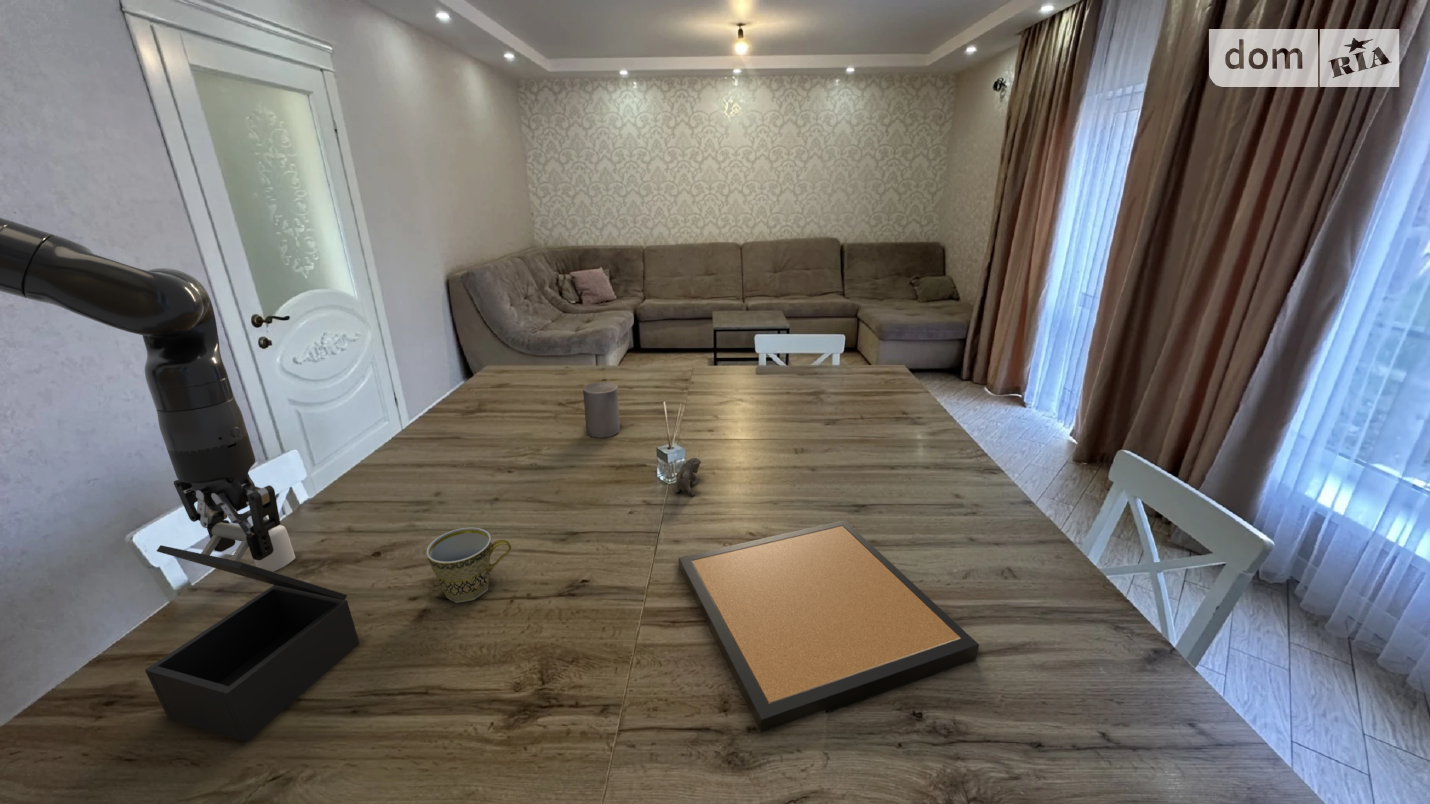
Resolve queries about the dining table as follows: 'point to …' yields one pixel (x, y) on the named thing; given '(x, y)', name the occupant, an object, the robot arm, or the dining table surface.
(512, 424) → the dining table surface
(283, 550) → the eye dropper bottle
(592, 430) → the pillar candle
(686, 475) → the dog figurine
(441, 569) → the ceramic cup
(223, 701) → the black box
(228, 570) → the box lid
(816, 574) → the cork board
